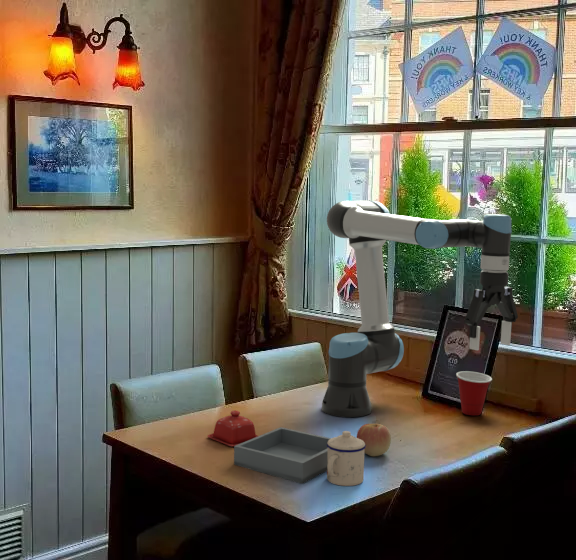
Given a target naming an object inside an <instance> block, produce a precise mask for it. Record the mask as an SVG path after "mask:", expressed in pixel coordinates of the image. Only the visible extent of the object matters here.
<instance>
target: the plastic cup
mask: <svg viewBox="0 0 576 560" xmlns="http://www.w3.org/2000/svg"><path fill="white" fill-rule="evenodd" d="M455 375H456V378H457V382H458V383H457V384H458V389H459V398H460V399H459V401H460V405H461V412H462V414H464V415H466V416H467V415H468V416H479V415H481V414H482V413H483V409H484V408H483V407H484V404H485V400H486V397H487V392H488V388H489V386H490V383H491V382H492V381H493V378H492V377H491V376H490V375H488V374H485V373H481V372H477V371H469V370H465V371H464V370H463V371H458V372H456V374H455Z"/></svg>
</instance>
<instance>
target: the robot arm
mask: <svg viewBox="0 0 576 560" xmlns="http://www.w3.org/2000/svg"><path fill="white" fill-rule="evenodd" d="M326 224H327V228H328V229H329V231H330V232H331V233H332V234H333V235H334V236H336V237H338V238H341V239H348V242H349V243H348V245H349V246H350V247H351V248H352V249H353V250H354V257H355V267H356V276H357V278H356V279H357V286H358V298H359V307H360V318H361V325H360V326H359V328H358V329H357V332H344V333H340V334H337V335H334V336H333V337H331V339H330V340H329V348H328V376H327V377H328V380H327V381H328V383H327V387H326V391H325V393H324V396H323V398H322V402H321V411H322V412H323V413H325V414H327V415H330V416H335V417H342V418H358V417H365V416H367V415H370V413H371V412H372V403H371V399H370V395H369V392H368V388H367V375H369V374H373V373H378V372H387V371H389V370H392V369H395V368H396V367H397V366H398V365H399V364H400V363H401V361H402V360H403V357H404V351H405V347H404V342H403V340H402V338H400V335H399V334H397V333H396V331H395V327H394V326H393V324H392V323H390V320H389V319H390V318H389V311H388V307H389V306H388V301H387V297H388V296H387V289H386V278H385V268H384V257H383V245H384V244H386V242H387V241H392V242H397V243H402V244H403V243H405V244H411V245H418V246H421V247H422V248H423V249H431V250H436V249H442V248H445V249H446V248H460V247H461V248H464V247H469V248H479V249H481V255H480V269H481V271H480V273H479V284H480V285H481V286H482V289H478V288H475V289H474V290H473V295H472V300H471V302H470V305H469V307H468V310H467V312H466V316H465V318H464V324H466V325H467V326H469V335H468V336H469V348H468V349H469V350H473V351H474V350H475V351H479V350H480V340H481V339H480V338H481V326H479V324H480V323H481V321H482V320H483V319H484V316H485V315H486V312H487V310H488V309H489V308H490V307H492V306H495V305H496V306H497V309H498V310H499V312H500V314H501V316H502V318H503V320H501V329H500V330H501V332H500V345H505V346H511V340H512V339H511V338H512V336H511V335H512V329H513V323H516V321H517V320H518V317H519V316H518V311H517V307H516V303H515V301H514V300H515V299H514V295H513V287H512V286H508V285H509V273H508V270H509V269H510V253H511V252H510V251H511V250H510V249H511V241H512V239H511V238H512V233H513V230H512V218H511V216H510V215H508V214H496V213H487V214H485V215H484V216H483V219H482V220H476V219H475V220H473V219H463V218H452V219H448V220H447V219H443V220H441V219H432V218H421V217H415V216H414V217H413V216H408V215H399V214H391V213H390V210H389V209H388V207H386V206H385V205H384V204H383V203H381V202H379V201H376V200H343V201H339V202H337V203H335V204H334V205H332V206H331V208H330V209H329V210H328V212H327V215H326Z"/></svg>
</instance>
